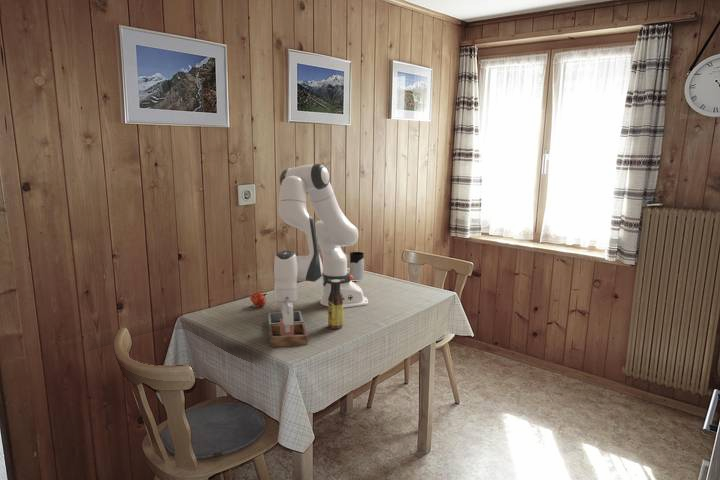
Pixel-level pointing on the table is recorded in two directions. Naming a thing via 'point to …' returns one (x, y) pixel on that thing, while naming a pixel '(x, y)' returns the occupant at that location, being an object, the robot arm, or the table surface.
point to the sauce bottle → (335, 306)
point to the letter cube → (282, 328)
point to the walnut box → (288, 339)
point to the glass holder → (356, 265)
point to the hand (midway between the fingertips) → (287, 328)
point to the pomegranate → (258, 299)
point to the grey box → (278, 316)
